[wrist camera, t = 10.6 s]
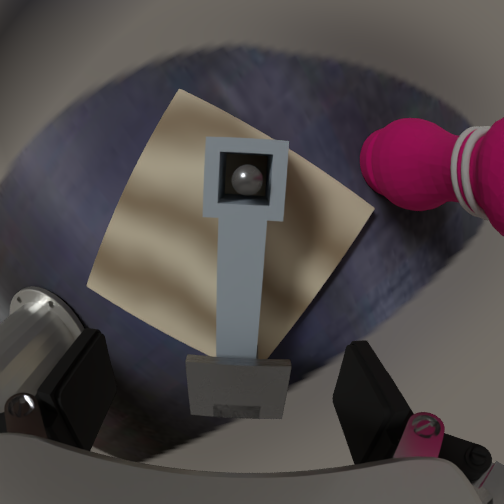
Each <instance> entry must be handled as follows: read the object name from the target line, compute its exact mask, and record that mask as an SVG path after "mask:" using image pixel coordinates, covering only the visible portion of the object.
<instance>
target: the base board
mask: <svg viewBox="0 0 504 504" xmlns="http://www.w3.org/2000/svg"><path fill="white" fill-rule="evenodd" d="M206 137H235V138H254V139H269V140H274V139H272V138H270V137H269V136H267V135H265V134H264V133H262V132H260V131H258V130H257V129H255V128H253V127H252V126H250V125H248V124H246V123H244V122H243V121H241V120H239V119H237V118H236V117H234V116H232V115H230V114H228V113H226V112H225V111H223V110H221V109H219V108H217V107H215V106H213V105H211V104H209V103H207V102H206V101H204V100H202V99H200V98H198V97H196V96H194V95H192V94H190V93H188V92H185V91H183V90H181V89H179V90H178V92H177V93H176V95H175V96H174V98H173V100H172V101H171V103H170V105H169V106H168V108H167V110H166V111H165V113H164V115H163V116H162V118H161V120H160V122H159V123H158V125H157V127H156V129H155V130H154V132H153V134H152V136H151V138H150V139H149V141H148V143H147V145H146V147H145V149H144V151H143V153H142V154H141V156H140V158H139V160H138V162H137V164H136V166H135V168H134V170H133V172H132V174H131V176H130V179H129V181H128V183H127V185H126V187H125V189H124V191H123V194H122V196H121V198H120V200H119V202H118V205H117V207H116V209H115V212H114V214H113V216H112V219H111V221H110V223H109V226H108V228H107V231H106V233H105V236H104V238H103V241H102V244H101V246H100V249H99V251H98V254H97V257H96V260H95V262H94V265H93V268H92V271H91V274H90V277H89V280H88V283H87V287H89V288H90V289H92V290H93V291H95V292H96V293H98V294H100V295H101V296H103V297H104V298H106V299H108V300H109V301H111V302H112V303H114V304H116V305H117V306H119V307H121V308H122V309H124V310H126V311H127V312H129V313H131V314H132V315H134V316H136V317H137V318H139V319H141V320H143V321H144V322H146V323H148V324H150V325H152V326H153V327H155V328H157V329H159V330H161V331H162V332H164V333H166V334H168V335H170V336H172V337H174V338H175V339H177V340H179V341H181V342H183V343H185V344H187V345H189V346H191V347H193V348H195V349H197V350H199V351H201V352H203V353H205V354H207V355H209V356H212V357H216V304H217V252H218V220H219V218H211V217H203V189H204V165H205V145H206ZM267 160H268V156H261V155H244V154H227V158H226V177H225V194H239V193H238V192H237V191H236V190H235V189H234V188H233V185H232V175H233V173H234V171H235V170H236V169H237V168H238V167H240V166H242V165H244V164H251V165H254V166H255V167H256V168H257V169H258V170H259V171H260V172H261V174H262V177H263V183H262V186H261V188H260V190H259V191H258V192H257V193H255V194H253V195H259V196H265V190H266V175H267ZM241 195H242V194H241ZM374 209H375V208H374V207H372V206H371V205H370V204H368V203H367V202H366V201H364V200H363V199H362V198H360V197H359V196H358V195H356V194H355V193H353V192H352V191H351V190H349V189H348V188H347V187H345V186H344V185H342V184H341V183H339V182H338V181H337V180H335V179H334V178H332V177H331V176H329V175H328V174H326V173H325V172H324V171H322V170H321V169H319V168H318V167H316V166H315V165H313V164H312V163H310V162H308V161H307V160H305V159H304V158H302V157H301V156H299V155H298V154H296V153H295V152H293V151H291V150H290V149H289V150H288V164H287V178H286V192H285V204H284V216H283V221H267V228H266V241H265V255H264V268H263V281H262V293H261V305H260V318H259V330H258V341H257V345H258V357H259V359H267V358H268V357H269V356H270V354H271V353H272V352H273V351H274V349H275V348H276V347H277V346H278V344H279V343H280V342H281V341H282V339H283V338H284V337H285V336H286V334H287V333H288V332H289V330H290V329H291V328H292V326H293V325H294V324H295V323H296V321H297V320H298V319H299V317H300V316H301V315H302V313H303V312H304V311H305V309H306V308H307V307H308V305H309V304H310V303H311V301H312V300H313V298H314V297H315V296H316V294H317V293H318V292H319V290H320V289H321V287H322V286H323V285H324V283H325V282H326V280H327V279H328V278H329V276H330V275H331V273H332V272H333V271H334V269H335V268H336V266H337V265H338V263H339V262H340V260H341V259H342V258H343V256H344V255H345V253H346V252H347V250H348V249H349V247H350V246H351V244H352V243H353V241H354V240H355V238H356V237H357V235H358V234H359V232H360V231H361V229H362V228H363V226H364V225H365V223H366V221H367V220H368V218H369V217H370V215H371V214H372V212H373V210H374Z"/></svg>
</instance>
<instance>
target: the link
mask: <svg viewBox="0 0 504 504" xmlns="http://www.w3.org/2000/svg"><path fill="white" fill-rule="evenodd" d="M288 150H289V141H282V140H269V139H254V138H235V137H206V145H205V165H204V189H203V217H211V218H219V220H218V252H217V304H216V357H228V358H248V359H256V353H257V341H258V330H259V318H260V305H261V293H262V281H263V268H264V255H265V241H266V228H267V221H283V216H284V204H285V192H286V178H287V164H288ZM227 154H244V155H261V156H268V160H267V175H266V190H265V196H259V195H248V196H246V195H241V194H225V177H226V158H227Z"/></svg>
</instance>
